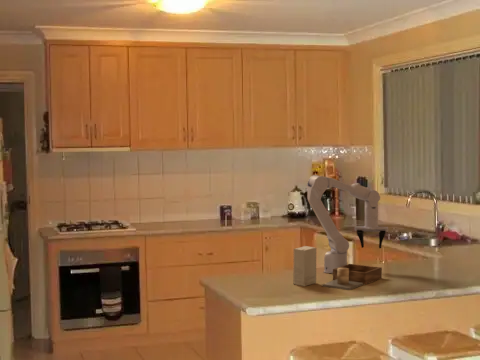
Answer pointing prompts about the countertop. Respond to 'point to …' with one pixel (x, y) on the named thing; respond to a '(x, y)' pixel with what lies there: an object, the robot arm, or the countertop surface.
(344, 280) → the maple spool
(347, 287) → the slate tile
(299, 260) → the skincare box
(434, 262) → the countertop surface
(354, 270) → the walnut crate
